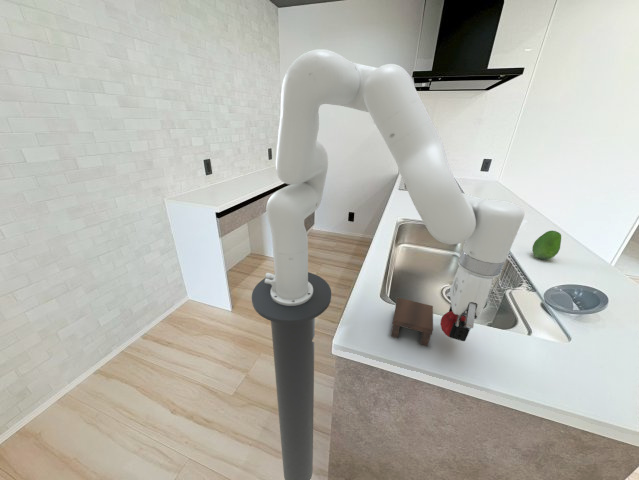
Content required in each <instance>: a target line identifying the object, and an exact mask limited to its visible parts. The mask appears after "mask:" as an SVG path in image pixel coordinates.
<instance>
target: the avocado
mask: <svg viewBox="0 0 639 480" xmlns="http://www.w3.org/2000/svg"><path fill="white" fill-rule="evenodd" d="M561 243H562V233H560V232H558V231H556V230H548V231H545V232H544V233H543V234H541V235H540V236H539V237H538V238H537V239H535V241H534V242H533V244H532V248H531V249H532V255H533V256H534V257H536V259H538V260H543V261H546V260H550V259H553V258H554V257H556V255H558V254H559V251H560V250H561Z"/></svg>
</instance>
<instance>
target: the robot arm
mask: <svg viewBox="0 0 639 480" xmlns="http://www.w3.org/2000/svg"><path fill="white" fill-rule="evenodd" d="M322 105H331V106H339V107H340V106H341V107H345V108H350V109H353V110H357V111H361V112H364V113H369V115H370V117H371V118H372V120H373V122H374V124H375V126H376V128H377V130H378V131H379V133H380V135H381V136H382V138H383V141H384V142H385V144H386V146H387V148H388V150H389V152H390V153H391V155H392V157H393V159H394V160H395V163H396V166H397V168H398V172H399V175H400V176H401V178H402V180H403V183H404V185H405V187H406V190H407V193H408V195H409V197H410V198H411V199H410V200H411V202H412V204H413V205H414V208H415V210H416V211H417V213H418V215H419V217H420V218H421V221H422V222H423V224H424V226H425V227H426V229H427V231H428V232H429V234H430V235H431V236H432V238H434V239H435V240H436V241H438V242H440V243H442V244H445V245H452V246H453V245H459V244H462V243H463V246H462V249H461V251H460V255H459V258H458V261H457V264H458V267H457V269H456V272H455V275H454V277H453V280H452V283H451V285H450V288H449V298H450V306H449V310H448V312H450V311H453V313H454V314H457V319H456V323H455V322H454V323H453V326H452V329H451V331H450V334H449V336H450V337H449V338H450V339H454V340H458V341H461V342H465V341H466V340H467V338H468V336H469V333H470V330H471V329H474V324H475V320H478V319H479V318H480V317H481V315H482V312H483V310H484V308H485V305H486V303H487V300H488V297H489V294H490V291H491V288H492V285H493V281H494V279H496V278H498V277H500V274H501V273H502V270H503V267H504V265H505V263H506V260H507V259H508V256H509V254H510V252H511V249H512V246H513V244H514V242H515V239H516V237H517V235H518V232H519V230H520V227H521V225H522V223H523V220H524V217H525V210H524V208H523V207H522V206H521V205H518V204H516V203H515V202H511V201H507V200H502V199H493V198H491V199H489V198H488V199H487V198H481V197H478V196H473V195H471V194H467V193H463V192H462V190H461V188H460V187H459V184H458V182H457V180H456V177H455V176H454V174H453V171H452V169H451V167H450V164H449V161H448V158H447V154H446V150H445V146H444V143H443V141H442V138H441V136H440V134H439V131H438V130H437V128H436V126H435V124H434V122H433V119H432V118H431V116H430V114H429V113H428V110H427V109H426V106H425V105H424V103H423V101H422V98H421V96H420V94H419V93H418V91H417V89H416V85H415V83H414V80H413V78H412V76H411V75H410V74H409V73H408V71H407V70H406V69H405V68H404V67H402V66H401V65H398V64H395V63H387V64H386V63H385V64H383V65H380V66H379V67H376V66H372V65H366V64H361V63H358V62H353V61H351V60H349V59H347V58H345V57H344V56H343V55H342V54H339V53H338V52H335V51H333V50H330V49H323V48H318V49H317V48H316V49H312V50H309V51H306V52H304V53H302V54H301V55H299V56H298V57H297V58H296V59H294V61H292V63H291V64H290V66H289V67H288V68H287V70H286V72H285V73H284V77H283V80H282V84H281V91H280V110H279V111H280V112H279V113H280V114H279V124H278V133H277V142H276V143H277V144H276V154H275V172H276V175H277V177H278V179H279V180H280V181H281V182H282V183H284V184H286V185H287V186H284V187H282V188H280V189H278V190H276V191H275V192H273V193H272V194H271V196H270V197H269V198H268V200H267V202H266V207H265V212H266V216H267V220H268V224H269V229H270V233H271V245H272V254H273V270H274V273H271V272H265V275H264V278H266V279H265V283H267V284H271V285H272V288H271V297H272V299H273V300H274V301H275V302H276V303H278V304H281V305H285V306H296V305H300V304H303V303H305V302H307V301H308V300H309V299H310V298H311V297H312V295H313V287H312V285H311V283H309V282H308V272H309V238H308V231H307V229H306V226H305V221H306V219H307V218H308V217H309V216H311V215H313V213H314V212H316V211H317V210H318V208H320V205H321V202H322V200H323V195H324V189H325V183H326V178H327V173H328V168H329V155H328V152H327V150H326V147H324V145H323V144H322V143H321V142H320V141H318V134H319V129H320V114H319V109H320V106H322ZM274 274H275V275H274ZM461 316H464V317H466V319H465V321H460V320H461Z"/></svg>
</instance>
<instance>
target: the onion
mask: <svg viewBox="0 0 639 480" xmlns="http://www.w3.org/2000/svg"><path fill="white" fill-rule="evenodd" d="M456 319H457V314H454V313H453V311H450V312H449V311H447V312H446V313H444V314H443V315H442V316H441V318H440V324H439V325H440V328H441V332H443V333H444V335H445V336H447V337H448V338H450V336H449V334H450V331H451V329H452V326H453V323H454V322H455V323H456ZM465 319H466V317H464V316H461V320H460V321H465Z"/></svg>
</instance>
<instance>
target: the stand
mask: <svg viewBox="0 0 639 480" xmlns="http://www.w3.org/2000/svg"><path fill="white" fill-rule="evenodd" d="M392 319H393V320H392V329H391V333H390V337H392V338H395V339H398V337H399V333H400V328H406V329H408V330H413V331H417V332H420V342H419V343H420V346H424V347H428V345H429V342H430V340H431V337H432V335H433V331H434V306H433V305H430V304H427V303H422V302H418V301H414V300H410V299H406V298H402V297H396V302H395V306H394V313H393V318H392Z"/></svg>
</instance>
